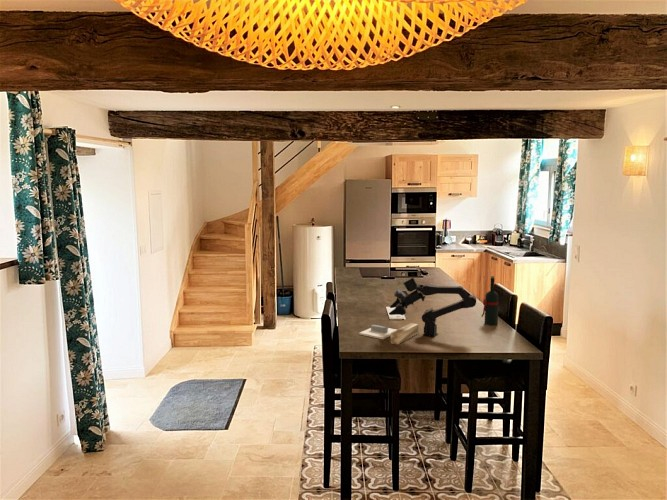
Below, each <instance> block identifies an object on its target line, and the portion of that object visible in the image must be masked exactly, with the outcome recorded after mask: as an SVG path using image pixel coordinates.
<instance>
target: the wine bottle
mask: <svg viewBox="0 0 667 500" xmlns="http://www.w3.org/2000/svg"><path fill="white" fill-rule="evenodd" d="M489 287H490V291H489V290H488V291H487V292H486V294H485V298H483V303H482V304H483V310H482V314H481V318H484V324H485V325H487V326H497V325H498V323H499V294H498V293H497V292H496V291H495V276H494V275H490V286H489Z"/></svg>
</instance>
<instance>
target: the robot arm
mask: <svg viewBox="0 0 667 500" xmlns="http://www.w3.org/2000/svg"><path fill="white" fill-rule="evenodd" d="M402 284H403V286H404V287H405V289H406V290H407V293H405V292H403V291H402V290H400V289H399V288H397V289H396V290H395V292H394V297H396V299H395V301H394V302H393V303H391V304H390V305H389V307H390V308H394V307H396V308H395V309H394V310H392V311H391V312H390V313H389V315H404V316H405V315H406V313H407V309H408V307H409V306H411V305H412V306H414V303H416V302H418V301H419V300H421V301H422V302H424V301H425V300H426V296H433V295H436V294H437V295H438V294H441V295H444V294H445V295H446V294H448V295H449V294H450V295H458V296H459V297H460V298H461V299H460V300H459V301H457V302H454V303H452V304H448V305H446V306H443V307H441V308H437V309H433V307H430V308H429V309H425V311H423V313H422V315H421V321H422V322H423V323H424V326H423V334H422V335H423V336H426V337H430V338H431V337H432V338H434V337H436V336H437V335H439V333H437V329H438V328H437V327H438V325H437V324H436V323H437V318H439V317H441V316H444V315H448V314H450V313H453V312H456V311H458V310H461V309H469V308H474V307H475V306H476V305H477V297H476V296H475V295H473V294H471V293H470V292H469V291H467V290H466V289H465V288H464V287H463V286H461V285H459V286H458V285H457V286H456V285H455V286H453V285H452V286H448V285H447V286H445V285H444V286H443V285H441V286H440V285H439V286H438V285H434V284H431V283H425V284H419V283H417V281H416V279H415V277H411V278H408V279H406V280H404V281H403V282H402ZM408 292H410V293H408Z"/></svg>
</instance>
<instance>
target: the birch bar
mask: <svg viewBox="0 0 667 500" xmlns="http://www.w3.org/2000/svg"><path fill="white" fill-rule="evenodd" d="M416 334H417V335H418V334H419V324H418V323H414V322H411V323H408V324H406V325H404V326H402V327H400V328H398V329H396V331H394V332H392V333H391V336H390V344H394V345H398V346H399V345H400V344H402V343H403V342H406V341H407V340H409V339H411V338H413V337H415V336H417V335H416ZM414 335H415V336H414ZM412 336H413V337H412Z"/></svg>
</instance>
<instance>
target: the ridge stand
mask: <svg viewBox="0 0 667 500" xmlns="http://www.w3.org/2000/svg"><path fill="white" fill-rule="evenodd" d="M396 330H397V329H395V328H390V327H387V326H382V325H378V324H377V325H376V324H371V325H370V327H369V328H367V329H364V330H362V331H360V332H358V333H359V334H358V335H360V336H365V337H369V338H375V339H378V340H379V339H380V340H385V339H387V338H388V337H391V333H392V332H394V331H396Z"/></svg>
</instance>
